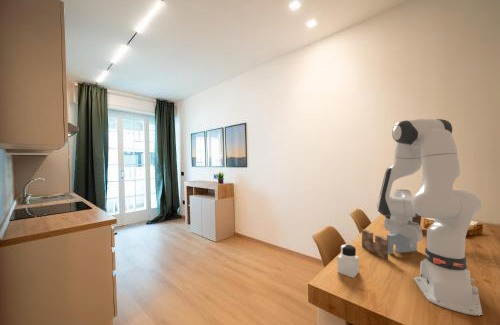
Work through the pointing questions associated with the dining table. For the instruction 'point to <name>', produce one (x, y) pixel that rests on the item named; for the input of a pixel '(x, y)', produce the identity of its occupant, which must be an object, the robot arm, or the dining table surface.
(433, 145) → the robot arm
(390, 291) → the dining table surface
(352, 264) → the medicine bottle
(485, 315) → the dining table surface
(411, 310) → the dining table surface
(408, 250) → the light blue notched panel
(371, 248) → the walnut board
